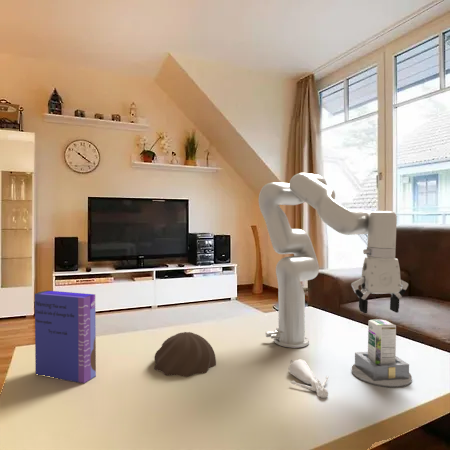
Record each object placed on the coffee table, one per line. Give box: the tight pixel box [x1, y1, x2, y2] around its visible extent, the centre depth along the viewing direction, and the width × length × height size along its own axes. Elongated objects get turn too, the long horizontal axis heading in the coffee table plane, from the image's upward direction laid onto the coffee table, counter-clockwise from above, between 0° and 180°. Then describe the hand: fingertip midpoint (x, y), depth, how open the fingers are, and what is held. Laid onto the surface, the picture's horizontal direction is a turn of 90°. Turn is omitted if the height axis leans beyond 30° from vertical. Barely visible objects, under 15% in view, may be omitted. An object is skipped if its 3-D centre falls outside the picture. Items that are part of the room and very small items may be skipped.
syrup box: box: [367, 319, 397, 364], centre depth 104 cm, size 6×6×14 cm
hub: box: [351, 351, 413, 388], centre depth 104 cm, size 16×16×5 cm
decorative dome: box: [153, 331, 217, 378], centre depth 112 cm, size 19×20×10 cm
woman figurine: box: [288, 358, 329, 399], centre depth 99 cm, size 12×4×18 cm
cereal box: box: [34, 290, 97, 385], centre depth 103 cm, size 17×5×24 cm, turn 71°
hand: (378, 311), depth 104 cm, fingers open, 9 cm apart
